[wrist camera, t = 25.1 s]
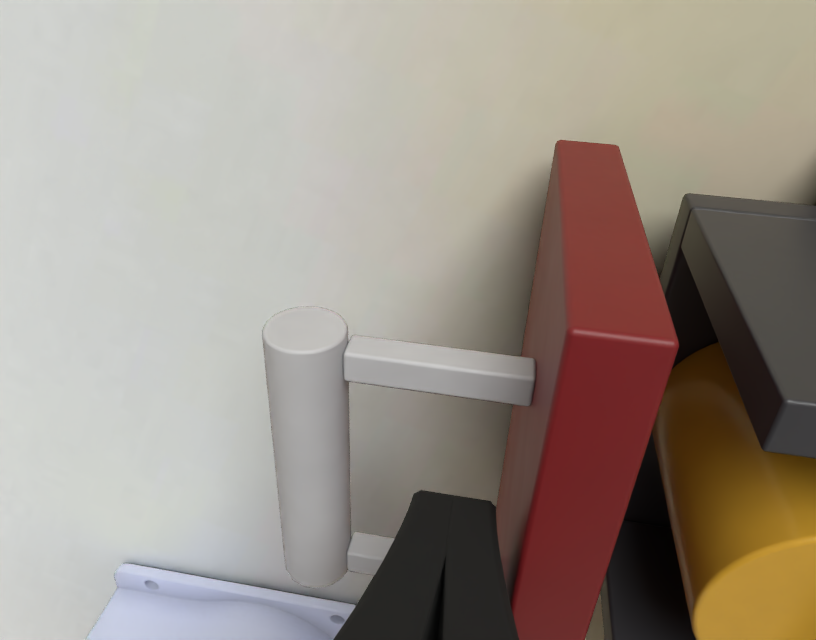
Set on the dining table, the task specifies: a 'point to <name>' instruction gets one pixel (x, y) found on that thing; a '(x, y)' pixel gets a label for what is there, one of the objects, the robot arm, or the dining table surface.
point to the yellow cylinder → (735, 510)
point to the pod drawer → (571, 396)
